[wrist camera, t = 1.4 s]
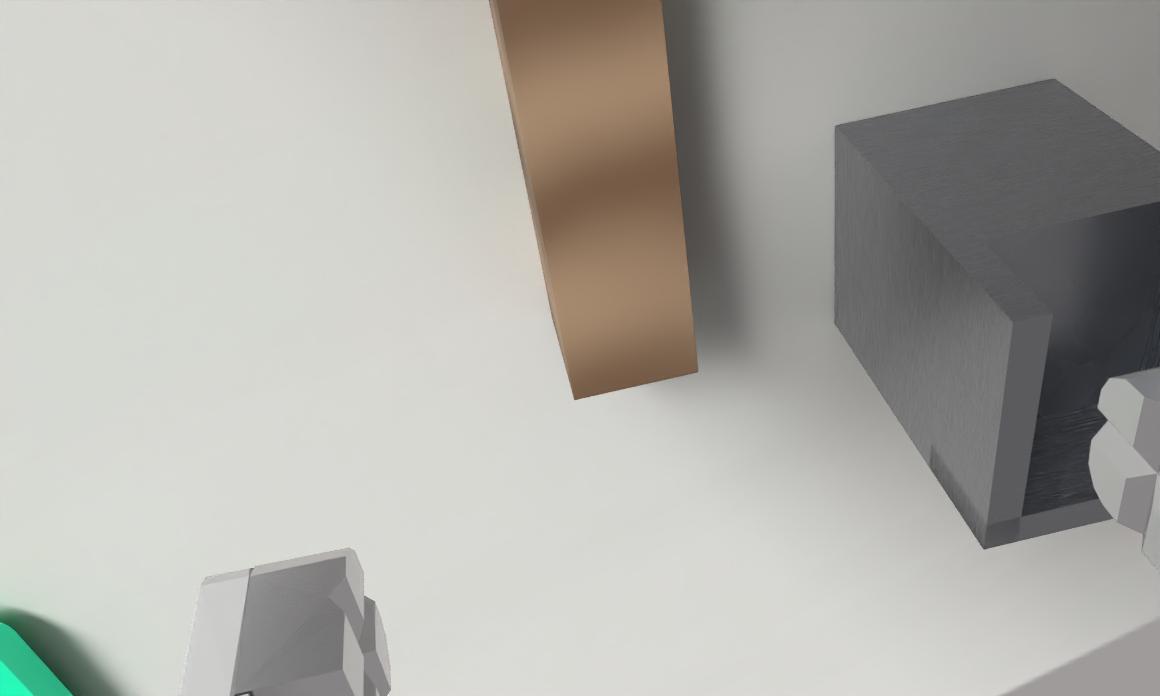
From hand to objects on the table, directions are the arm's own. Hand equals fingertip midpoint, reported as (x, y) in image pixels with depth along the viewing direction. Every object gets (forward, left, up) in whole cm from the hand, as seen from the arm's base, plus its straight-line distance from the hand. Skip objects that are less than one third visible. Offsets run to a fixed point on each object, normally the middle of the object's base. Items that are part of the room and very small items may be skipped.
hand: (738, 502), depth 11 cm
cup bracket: (+12, +13, -22) cm, 28 cm away
